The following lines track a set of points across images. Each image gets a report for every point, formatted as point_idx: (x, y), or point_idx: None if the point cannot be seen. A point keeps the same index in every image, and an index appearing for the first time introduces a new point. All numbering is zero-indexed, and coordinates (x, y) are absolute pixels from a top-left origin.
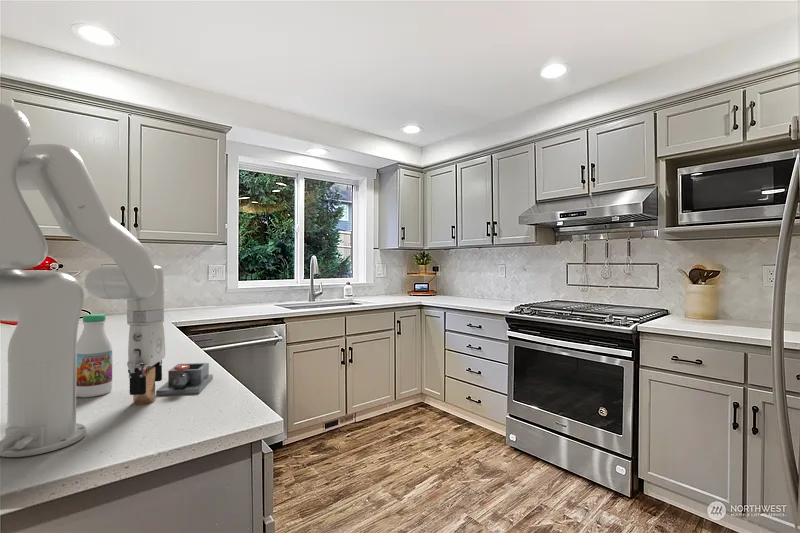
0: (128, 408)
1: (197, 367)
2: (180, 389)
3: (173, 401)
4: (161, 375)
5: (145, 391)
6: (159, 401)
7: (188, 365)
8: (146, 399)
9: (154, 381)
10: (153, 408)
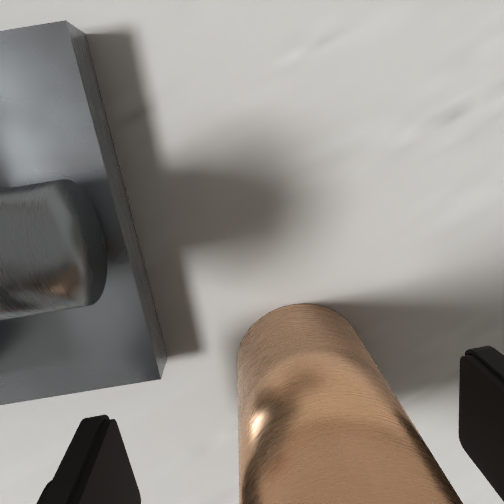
0: (416, 381)
1: None
2: (107, 206)
3: (297, 167)
4: (77, 452)
5: (492, 354)
6: (292, 270)
7: None
8: (359, 339)
9: (325, 400)
10: (441, 233)
